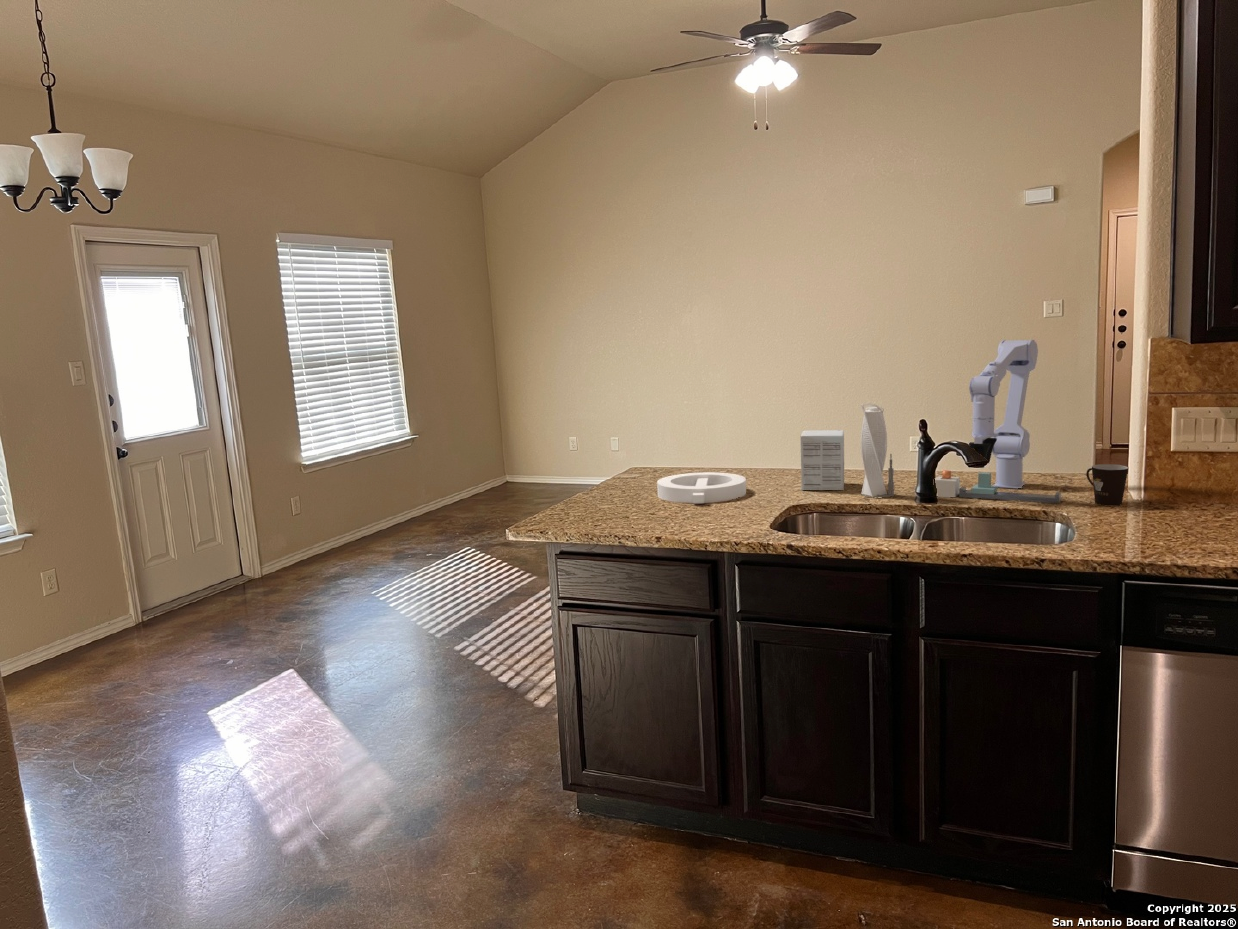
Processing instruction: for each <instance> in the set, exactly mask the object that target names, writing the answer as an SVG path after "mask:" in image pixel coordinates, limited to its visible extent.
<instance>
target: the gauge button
mask: <svg viewBox="0 0 1238 929" xmlns="http://www.w3.org/2000/svg"><path fill="white" fill-rule="evenodd" d="M941 474H942V475H941V476H942V478H945V479H949V478H951V477H952V471H951V470H949V469H947V470H944V469H943V470H942V473H941Z"/></svg>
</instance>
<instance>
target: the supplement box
mask: <svg viewBox="0 0 1238 929" xmlns="http://www.w3.org/2000/svg"><path fill="white" fill-rule="evenodd" d="M799 440H800V475H801V477H800V481H801V482H800V483H801V484H800V485H801V486H800V487H801V488H800V491H803V490H843V491H844V488H845V430H844V429H828V430H827V429H825V430H823V429H821V430H820V429H819V430H814V429H813V430H803V431H802V432H801V435H800V439H799Z"/></svg>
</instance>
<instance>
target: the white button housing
mask: <svg viewBox="0 0 1238 929" xmlns="http://www.w3.org/2000/svg"><path fill="white" fill-rule="evenodd" d="M960 478H961V477H959V476H951V478H949V479H945V478H942V475H941V476H940V475H938V476H936V477H935V478H934V479H935V483H936V488H937V493H938V497H937V498H950V497H955V498H957V497H959V489H960V488H961V487H960Z"/></svg>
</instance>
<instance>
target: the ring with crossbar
mask: <svg viewBox="0 0 1238 929" xmlns="http://www.w3.org/2000/svg"><path fill="white" fill-rule="evenodd" d="M746 479H747V478H746V477H745V476H743V475H741V474H737V473H736V474H735V473H729V472H728V473H727V472H707V471H706V472H703V471H702V472H689V473H681V474H673V475H669V476H664V477H661V478H659V479H657V482H656V483H657V484H656V485H657V488H656V489H657V497H658V499H661V500H664V501H666V502H673V503H680V504H681V503H683V504H707V503H708V504H709V503H718V502H721V503H722V502H727V501H733V500H737V499H739V498H738V497H740V498H742V497H744V496H745V495H747V480H746ZM736 498H737V499H736ZM732 499H733V500H732Z"/></svg>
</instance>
